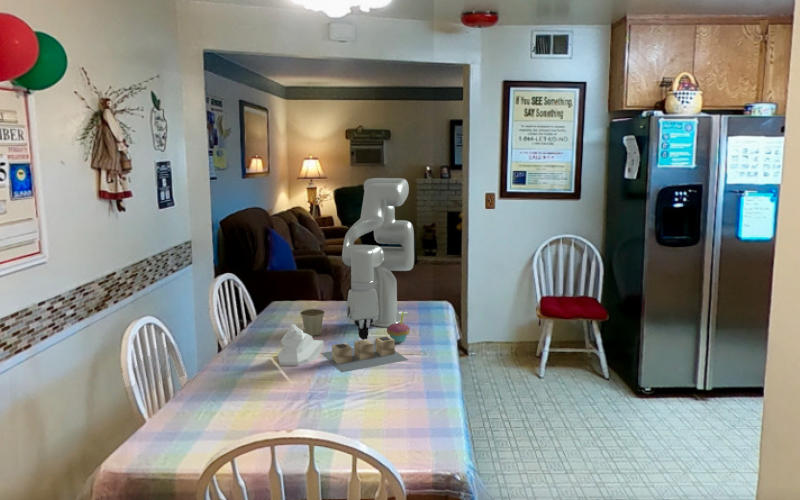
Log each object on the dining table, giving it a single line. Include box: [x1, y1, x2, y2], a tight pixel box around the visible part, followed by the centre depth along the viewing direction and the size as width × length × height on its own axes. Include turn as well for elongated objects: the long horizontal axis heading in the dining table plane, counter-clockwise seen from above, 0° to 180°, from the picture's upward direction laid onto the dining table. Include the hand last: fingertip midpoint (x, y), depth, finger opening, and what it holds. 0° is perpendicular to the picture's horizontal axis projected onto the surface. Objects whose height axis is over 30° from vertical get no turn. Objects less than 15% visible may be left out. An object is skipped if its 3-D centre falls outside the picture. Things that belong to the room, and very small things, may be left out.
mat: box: [320, 343, 409, 373], centre depth 200 cm, size 24×20×1 cm
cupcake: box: [386, 310, 411, 343], centre depth 215 cm, size 9×8×12 cm
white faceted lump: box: [277, 323, 325, 366], centre depth 196 cm, size 12×15×14 cm
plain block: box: [353, 338, 374, 360], centre depth 199 cm, size 5×5×5 cm
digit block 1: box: [331, 342, 352, 364], centre depth 196 cm, size 5×5×5 cm
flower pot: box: [300, 308, 325, 337], centre depth 226 cm, size 9×9×9 cm
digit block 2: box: [375, 335, 396, 356], centre depth 203 cm, size 5×5×5 cm
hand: (363, 338), depth 198 cm, fingers closed
